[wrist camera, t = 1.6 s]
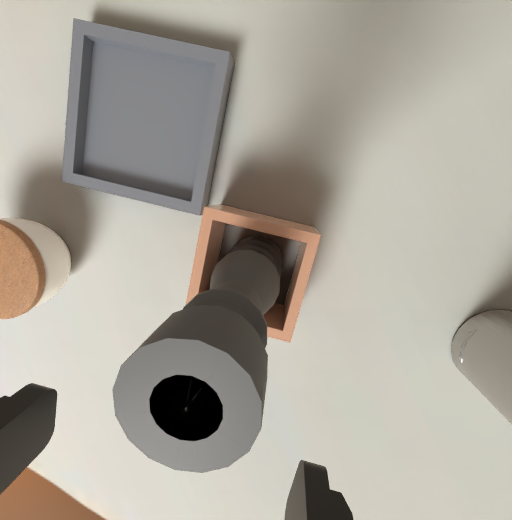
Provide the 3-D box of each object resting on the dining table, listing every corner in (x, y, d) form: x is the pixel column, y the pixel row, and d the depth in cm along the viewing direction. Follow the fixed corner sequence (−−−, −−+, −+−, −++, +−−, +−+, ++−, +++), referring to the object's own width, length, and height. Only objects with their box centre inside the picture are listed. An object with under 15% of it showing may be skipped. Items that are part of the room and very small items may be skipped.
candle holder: (236, 229, 35) (114, 312, 10) (288, 241, 34) (288, 355, 10) (226, 279, 36) (99, 454, 12) (276, 291, 36) (250, 496, 11)
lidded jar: (1, 273, 39) (-85, 297, 30) (21, 198, 37) (-68, 200, 28) (74, 309, 39) (10, 343, 30) (99, 236, 37) (36, 250, 28)
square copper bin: (314, 227, 34) (321, 235, 27) (289, 314, 36) (290, 342, 29) (220, 204, 34) (204, 206, 27) (203, 292, 37) (184, 314, 30)
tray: (234, 62, 31) (230, 51, 28) (205, 214, 35) (199, 215, 32) (90, 31, 32) (73, 18, 29) (77, 182, 35) (61, 181, 33)
